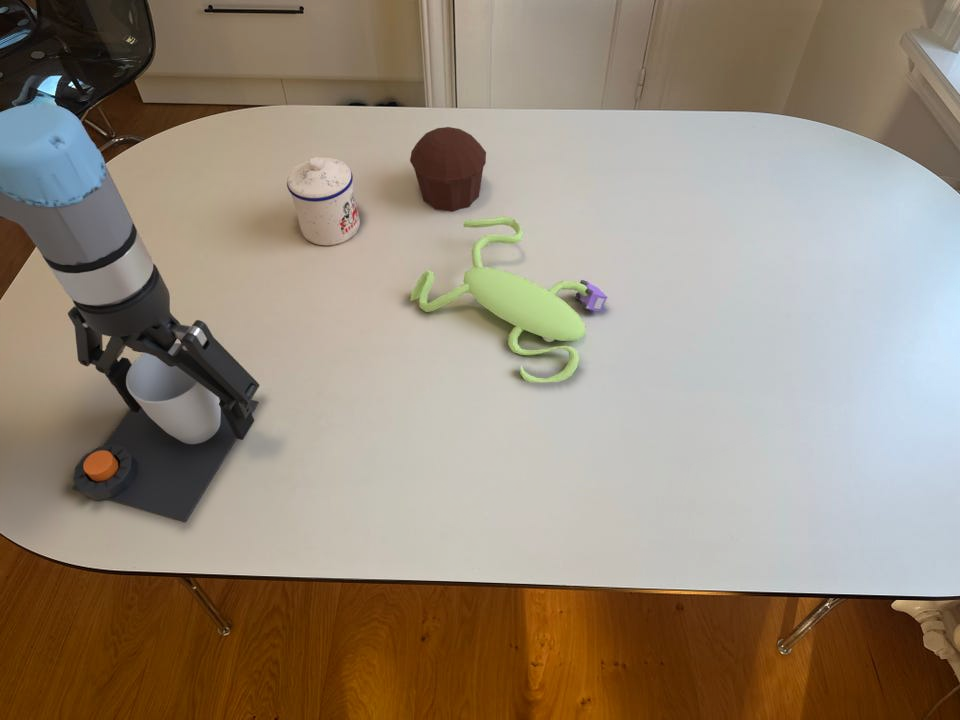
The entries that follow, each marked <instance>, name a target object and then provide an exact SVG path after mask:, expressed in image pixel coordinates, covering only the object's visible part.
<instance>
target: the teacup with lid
mask: <svg viewBox="0 0 960 720" xmlns="http://www.w3.org/2000/svg"><path fill="white" fill-rule="evenodd" d="M353 180H354V175H353V172H352V170H351V168H350V167H349V166H348V165H347V164H345V162H343V161H341V160H339V159H336V158H332V157H319V156H315V157H311V158H310V159H307V160H305V161H302V162H301V163H299V164H297V165H296V166H294V167H293V168H292V170H291V171H290V172H289V174H288V176H287V180H286V187H287V190H288V192H289V193H290V194H291V199H292V202H293V205H294V209H295V213H296V216H297V220H298V224H299V228H300V231H301V234H302V235H303V237H304V238H305V239H306V241H308V242H310V243H313V244H315V245H319V246H334V245H339V244H342V243H345V242H346V241H348V240H350V239H351V238H352V237H354V235H355V234H356V233H357V232H358V230H359V227H360V225H361V224H360V222H361V221H360V216H359V210H358V205H357V201H356V196H355V195H356V194H355V190H354V184H353Z"/></svg>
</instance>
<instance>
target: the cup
mask: <svg viewBox="0 0 960 720" xmlns="http://www.w3.org/2000/svg"><path fill="white" fill-rule="evenodd" d="M180 344H181V342H180V341H176V342H175V343H174V345H173V346H172V348H171V349H170V350H169V352H168V353H169V354H171V355H173V354H174V352H175V351H176V350H177V348H178V347H179V346H180ZM131 364H132V365H131V367H130V369H129V371H128V373H127V377H126V385H127V389H128V391H129V392H130V394H131V395H132V396H133V397H134V399H135V400H136V401H137V402H138V404H139V405H140V406H141V407H142V409H143V410H144V411H145V412H146V414H147V415H148V416H149V417H150V418H151V419H152V420H153V421H154V422H155V423H157V424H158V425H159V426H160V427H161V428H162V429H163V430H164V431H165V432H166V433H168V434H169V435H171V436H173V437H175V438H176V439H178V440H180V441H182V442H183V443H186V444H198V443H202V442H204V441H206V440H208V439H210V438H211V437H212V436H213V435H214V434H215V433H216V432H217V431H218V429H219V427H220V419H221V408H220V406H219V402H220V400H219V397H217V396H216V395H215V394H213V393H212V392H211V391H209V390H208V389H207V388H205V387H204V386H203V385H201V384H200V383H199V382H197V381H196V380H194V379H193V378H192V377H190V376H189V375H188V374H186V373H185V372H184V371H182V370H181V369H180V368H178V367H177V366H173V367H170V366H168V365H166V364H165V363H164V362H162V361H161V360H160V359H158V358H157V357H156V356H153V355H150V354H148V353H143V352H142V354H141V355H139V356H138V357H137V358H136V359H135V360H134V362H133V363H131Z"/></svg>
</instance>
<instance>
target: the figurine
mask: <svg viewBox="0 0 960 720" xmlns="http://www.w3.org/2000/svg"><path fill="white" fill-rule="evenodd" d="M502 225H503V226H508V227H510V228H512V229H513V230H514V231H515V232H516V233H514V234H512V235H505V234H495V233H494V234H488V235H484V236H482V237H481V238H479V239H478V240H477V241H476V242H474V244H473V245H472V249H471V259H472V266H473V267H472V268H470V269H469V270H467V271H465V272H464V276H463V283H464V284H461V285H459V286H458V287H456V288H454V289H453V290H451V291H450V292H448V293H446V294H443V295H441V296H439V297H437V298H435V299H434V300H432V301H430V302H428V297H429V293H430V290H431V288H432V286H433V284H434V281H435V278H436V276H435V273H434V272H433V271H432V270H430V269H427V270H425V271H424V272H423V273H422V275H421V276H420V278H419V279H418V281H417V282H416V284H415V286H414V287H413V290H412V293H411V296H410V299H409V301H410V302H412V301H415V300H417V299H418V307H419V308H420V309H421V310H422V311H423V312H425V313H429V312H433V311H436V310H437V309H439V308H442V307H443V306H445V305H447V304H449V303H452V302H454V301H456V300H457V299H459V298H460V297H462V296H463V295H464V294H467V293H469V294H470V295H471V296H472V297H473V298H474V299H475V300H476V301H477V302H478V303H479V304H480V305H481V306H483V307H484V308H485V309H487V310H488V311H490V312H491V313H492V314H494V315H495V316H496V317H498V318H499V319H502V320H503V321H505V322H508V323H509V324H511V325H513V326H514V327H513V328H512V330H511V331H510V333H509V335H508V339H507V340H508V343H507V345H508V347H509V349H510V351H511V352H513V353H515V354H516V355H521V356H535V355H541V354H545V353H547V352H550V351H551V352H552V351H554V350H558V349H562V350H564V351H566V352H568V355H569V356H568V357H569V360H568V362H567V364H566V366H565V367H564V368H563V369H562V370H561V371H559V372H558V373H557V374H554V375H552V376H549V377H547V378H542V377H537V376H535V375H531V374H529V373H528V372H527V371H525V370H524V368H523V365H522V364H520V376H521V377H522V379H523V381H526V382H529V383H538V384H539V383H559V382H562V381H564V380H567V379H569V378H571V377H572V376H573V375H574V373H575V371H576V370H577V368H578V365H579V362H580V356H579V352H578V351H577V350H576V349H575V348H574V347H573V346H571V345H558V346H553V347H547V348H540V349H525V348H521V346H520V345H519V343H518V341H519V337H520V335H521V334H522V332H524V331H526V332H529V333H532V334H534V335H537V336H540V337H542V339H543V340H544V341H545V342H547V343H551V342H554V341H555V340H556V341H559V342H560V341H562V342H569V341H570V342H571V341H573V342H574V341H578V340H580V339H581V338H583V337H584V336H585V335H586V325H585V323H584V321H583V319H582V318H581V316H580V314H579V313H578V312H576V311H575V309H573V308H572V307H571V306H570V304H568V303H567V302H566V301H565V300H563V298H561V297H559V296H557V294H558V293H559V292H560V291H562V290H565V291H566V290H568V291H569V290H570V291H576V293H575V295H574V298H575V299H577V300H578V301H580V302H581V303H580V306H581V308H583V309H586V310H590V311H595V312H601V311H602V309H603V307H604V305H605V303H606V302H607V299H608V296H607V295H606V294H605V293H604V292H603V291H602V290H601V289H600V288H599V287H598V286H595V285H594V284H592V283H590V282H589V281H588V280H585V279H581V280H580V281H579V282H578V281H568V280H561V281H559V282H557V283H556V284H554V285H553V286H552V287H550V288H549V289H547V288H545V287H544V286H541V285H539V284H538V283H536V282H534V281H532V280H529V279H527V278H526V277H523V276H520V275H517V274H514V273H512V272H509V271H506V270H502V269H497V268H492V267H487V266H483V261H482V256H481V251H482V249H483V248H485V246H488V245H489V244H506V245H507V244H509V245H513V244H514V245H515V244H517V243H520V242H521V241H522V239H523V235H524V232H523V229H522V226H521V224H520V223H519V222H518V221H516V220H515V219H514V218H512V217H509V216H506V215H504V216H497V217H493V218H483V219H465V220H464V221H463V228H470V229H477V228H487V227H493V226H502Z"/></svg>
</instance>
